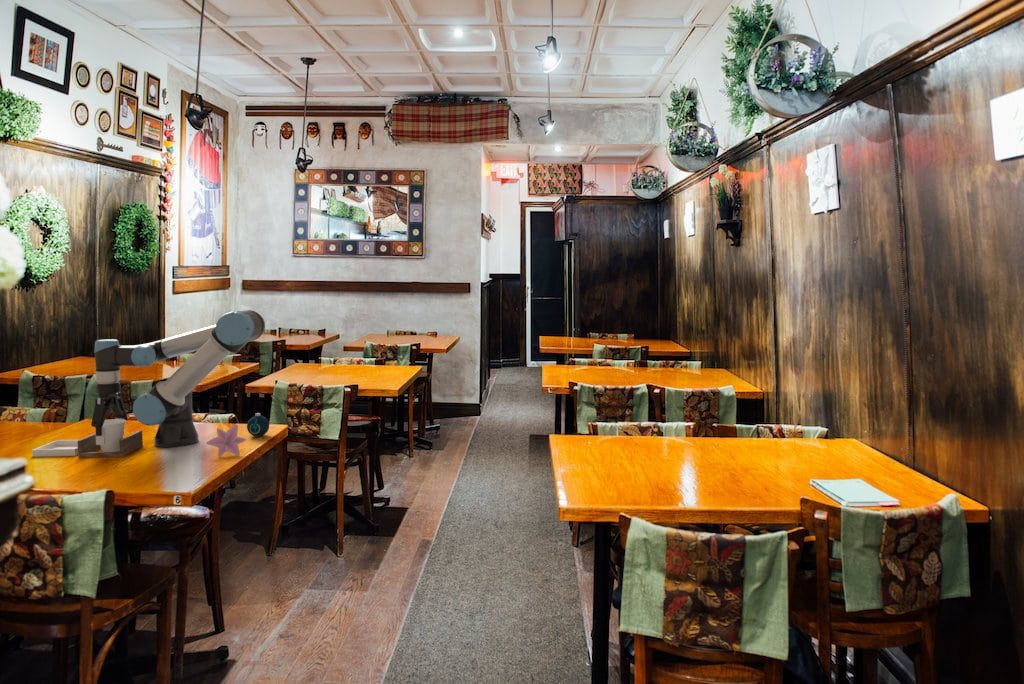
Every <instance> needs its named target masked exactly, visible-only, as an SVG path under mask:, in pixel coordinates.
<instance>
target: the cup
mask: <svg viewBox="0 0 1024 684" xmlns="http://www.w3.org/2000/svg"><path fill="white" fill-rule="evenodd" d="M126 422H127V420H126V419H124V420H123V419H115V418H114V419H105V421H104V424H103V426H105V445H100V447H101V448H100V450H101V451H100V452H120V443H119V440H121V439H123V438H124V436H123V434H124V435H125V429H126V428H125V426H126Z"/></svg>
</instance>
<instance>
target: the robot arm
mask: <svg viewBox="0 0 1024 684" xmlns="http://www.w3.org/2000/svg"><path fill="white" fill-rule="evenodd" d="M265 329H266V321H265V320H264V317H263V316H262V315H261V314H260V313H259V312H257V311H255V310H251V309H245V310H232V311H228V312H226V313H224V314H222V316H220V317H219V318H218V320H217V321H216V323H215V324H214V325H210V326H207V327H203V328H202V327H201V328H200V329H199V328H198V329H197V330H193V331H188V332H184V333H182V334H178V335H174V336H169V337H166V338H163V339H159V340H156V341H152V342H147V343H143V344H142V343H141V344H135V345H122V344H120V342H119V340H118V339H113V338H111V339H110V338H109V339H107V338H106V339H97V340H95V342H94V352H93V354H94V360H95V361H94V362H95V363H94V365H95V366H94V367H95V373H94V376H95V382H96V384H95V391H96V394H98V395H100V398H98V397H97V398H95V400H94V401H95V402H94V408H93V409H94V410H93V413H92V419H91V422H90V423H91V424H90V426H91V427H93V428H94V429H95V433H96V445H105V426H103V424H104V421H105V420H106V417H107V414H108V412H109V411H110V410H111V411H112V413H113V414H114V415H115V418H114V419H123V420H125V418H127V416H128V415H127V414H128V413H127V408H126V406H125V403H124V400H123V399H124V398H123V396H122V395H123V393H122V392H121V382H120V381H121V367H139V368H142V367H151V366H152V365H153V364H154V363H158V362H161V361H162V362H163V361H165V360H168V359H171V358H175V357H178V356H182V355H186V354H189V353H193V352H194V353H193V354H192V355H191V356H190V357H189V358H188V359H187V360H186V361H185V362H184V363H183V364H182V365H181V366H180V367H179V368H177V370H176V371H174V372H173V373H172V375H171V376H169V377H168V378H167V379H166V380H165V381H158V382H157V383H156V384H155V385H154V386H152V387H151V389H150V390H148V391H147V392H146V393H143V394H141V395H139V396H138V397H137V398H136V399H135V400H134V401H133V404H132V410H133V415H134V417H135V419H136V420H137V421H138V422H139V423H141V424H142V425H144V426H150V427H151V426H157V429H156V432H155V435H154V439H153V441H154V446H156V447H159V448H176V447H177V448H178V447H182V446H183V447H184V446H188V445H189V446H190V445H193V444H196V443H198V442H199V434H198V431H197V429H196V425H195V424H194V419H193V390H194V389H195V388H196V387H197V386H198V385H199V384H200V383H201V382H202V381H203V380H205V378H206V377H207V376H208V375H209V374H210V373H211V372H212V371H213V370H215V368H217V366H219V365H220V363H221V362H223V361H224V360H225V359H226V358H227V357H228V356H229V355H230V354H233V355H234V354H237V353H239V351H241V349H242V348H244V347H245V346H246V345H247V344H248V343H249V342H253V341H256V340H258V339H260V337H261V336H262V335H263V334H264V332H265ZM124 436H125V433H124V434H123V437H124Z"/></svg>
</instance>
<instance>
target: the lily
mask: <svg viewBox="0 0 1024 684" xmlns="http://www.w3.org/2000/svg"><path fill="white" fill-rule="evenodd" d="M238 429H239V426H238V424H235V425H233V426H231V427H230V428H229V429H227V431H224V430H223V429H221V428H216V433H217V436H216V437H213V438H211V439H210V440H208V441H206V445H208V446H211V447H215V448H218V451H217V456H218V458H219V457H220V458H221V457H222V456H223V455H224V454H226V453H227V452H228V453H231V454H233V455H235V456H237V457H238V456H240V448H239V444H242V443H244V442H245V441H247V439H246V438H244V437H241V436H238V432H239V430H238Z"/></svg>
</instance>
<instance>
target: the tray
mask: <svg viewBox="0 0 1024 684" xmlns="http://www.w3.org/2000/svg"><path fill="white" fill-rule="evenodd" d="M78 440H79V439H56V440H54V441H51V442H48V443H46V444H43V445H41V446H38V447H36V448H33V449H31V454H32V457H72V456H73V457H77V455H78Z"/></svg>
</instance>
